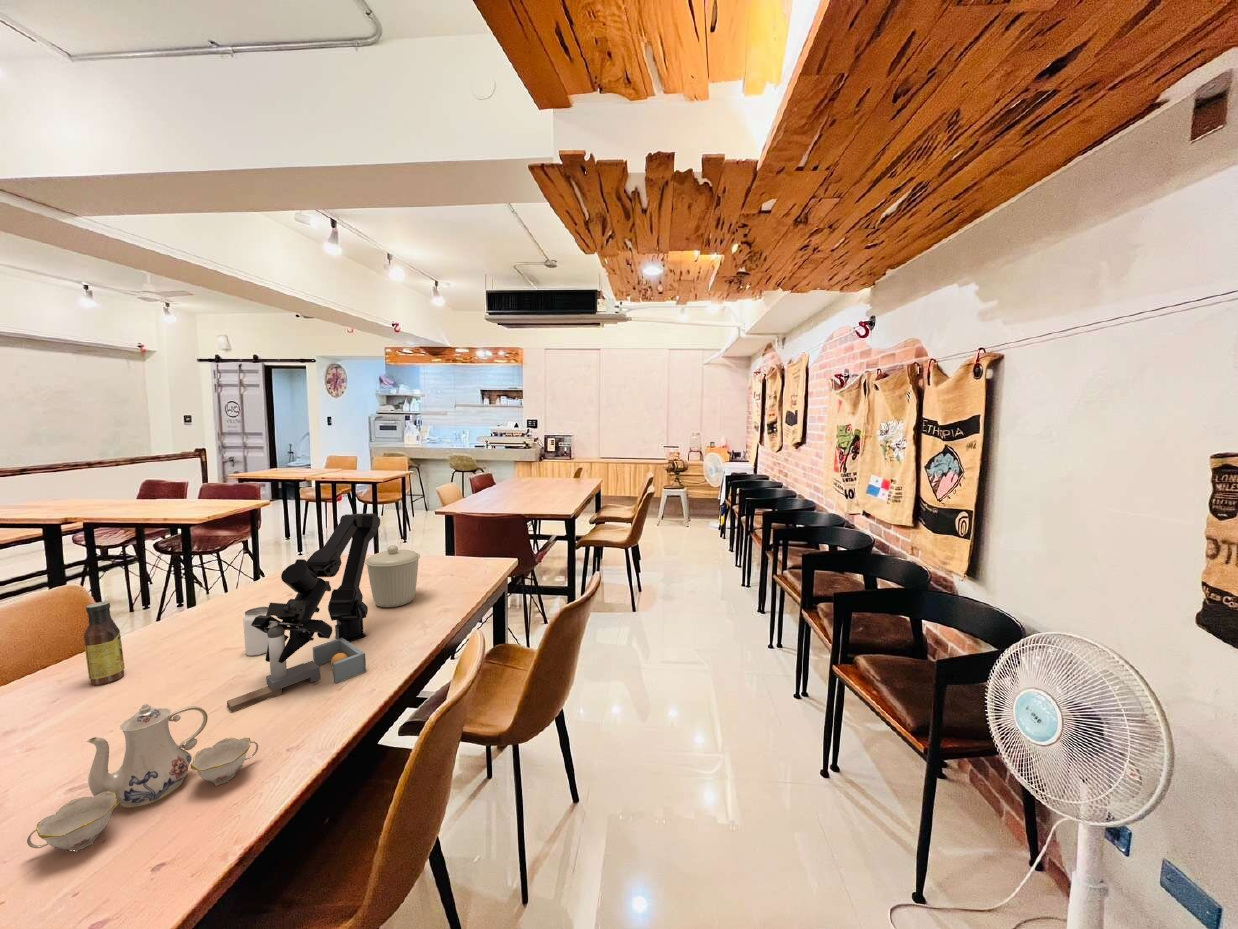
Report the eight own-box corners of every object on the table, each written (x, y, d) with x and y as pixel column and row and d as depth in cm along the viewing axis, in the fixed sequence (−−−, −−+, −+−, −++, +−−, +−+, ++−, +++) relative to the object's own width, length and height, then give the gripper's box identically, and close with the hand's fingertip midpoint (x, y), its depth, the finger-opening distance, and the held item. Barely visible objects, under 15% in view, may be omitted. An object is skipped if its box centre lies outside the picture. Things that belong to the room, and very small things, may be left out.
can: (258, 657, 132) (255, 616, 131) (239, 655, 133) (236, 614, 132) (279, 646, 138) (276, 607, 137) (261, 644, 140) (258, 605, 139)
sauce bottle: (131, 675, 123) (123, 601, 121) (98, 688, 117) (89, 610, 115) (115, 671, 125) (108, 598, 123) (82, 683, 119) (74, 607, 117)
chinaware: (38, 897, 68) (27, 795, 65) (20, 830, 77) (10, 738, 74) (268, 775, 91) (266, 696, 88) (233, 735, 100) (231, 662, 97)
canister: (432, 599, 175) (430, 543, 173) (385, 616, 160) (383, 555, 158) (402, 590, 185) (400, 537, 183) (356, 605, 170) (353, 547, 168)
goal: (343, 654, 134) (342, 637, 134) (366, 671, 125) (365, 653, 125) (313, 665, 128) (312, 647, 128) (335, 683, 119) (334, 664, 119)
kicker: (312, 672, 124) (309, 613, 122) (320, 679, 121) (316, 618, 119) (266, 689, 116) (262, 626, 115) (273, 696, 113) (269, 631, 112)
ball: (327, 655, 126) (329, 669, 127) (333, 659, 123) (335, 674, 124) (343, 648, 129) (345, 662, 130) (349, 652, 127) (351, 666, 127)
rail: (276, 688, 117) (276, 682, 117) (281, 693, 115) (281, 688, 115) (227, 706, 110) (226, 700, 109) (231, 712, 107) (231, 706, 107)
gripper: (254, 584, 119) (214, 647, 109) (321, 589, 116) (286, 654, 107) (283, 602, 128) (248, 662, 118) (346, 607, 125) (315, 669, 115)
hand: (273, 661), depth 114 cm, fingers closed on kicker, 3 cm apart
